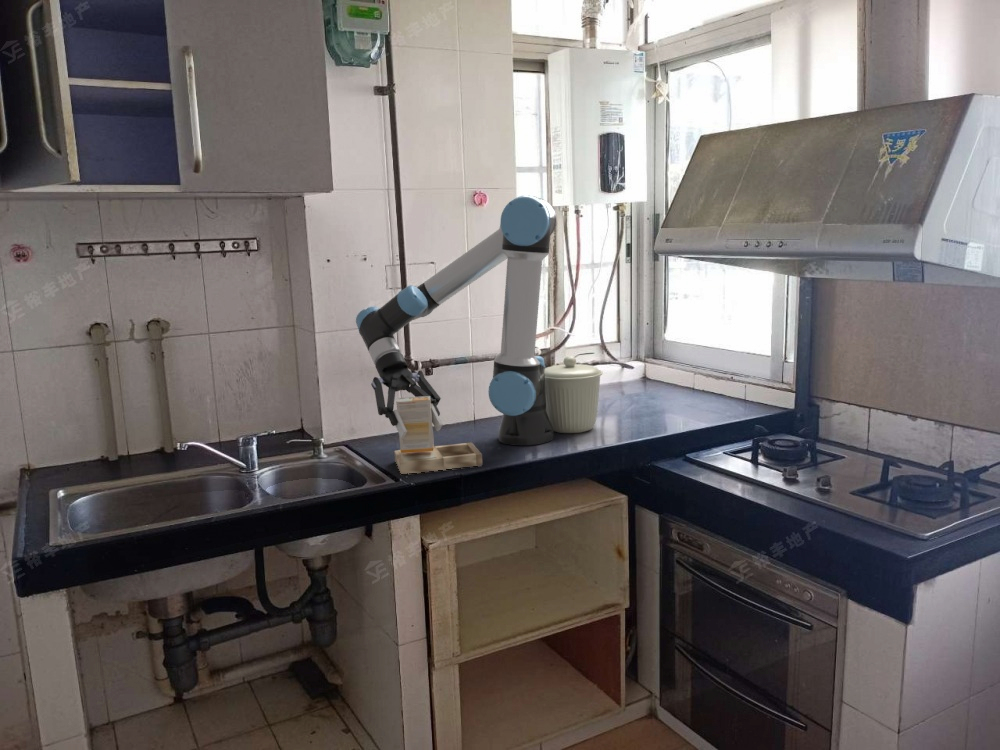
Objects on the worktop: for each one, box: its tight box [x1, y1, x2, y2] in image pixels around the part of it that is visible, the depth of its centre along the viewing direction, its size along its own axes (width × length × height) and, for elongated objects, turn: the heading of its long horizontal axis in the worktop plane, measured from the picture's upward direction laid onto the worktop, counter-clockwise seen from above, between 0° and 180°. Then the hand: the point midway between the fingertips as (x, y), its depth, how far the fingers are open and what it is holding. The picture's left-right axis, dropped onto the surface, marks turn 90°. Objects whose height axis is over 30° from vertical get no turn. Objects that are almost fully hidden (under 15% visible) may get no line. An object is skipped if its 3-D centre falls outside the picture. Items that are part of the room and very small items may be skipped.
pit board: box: [394, 442, 483, 475], centre depth 198 cm, size 20×12×3 cm, turn 104°
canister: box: [545, 355, 603, 434], centre depth 226 cm, size 18×18×21 cm
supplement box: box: [396, 396, 435, 453], centre depth 196 cm, size 8×5×13 cm, turn 92°
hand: (422, 431), depth 193 cm, fingers closed on supplement box, 9 cm apart
